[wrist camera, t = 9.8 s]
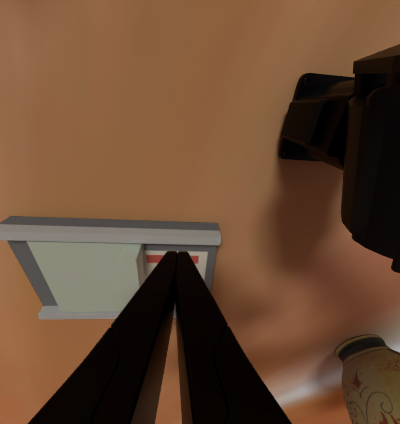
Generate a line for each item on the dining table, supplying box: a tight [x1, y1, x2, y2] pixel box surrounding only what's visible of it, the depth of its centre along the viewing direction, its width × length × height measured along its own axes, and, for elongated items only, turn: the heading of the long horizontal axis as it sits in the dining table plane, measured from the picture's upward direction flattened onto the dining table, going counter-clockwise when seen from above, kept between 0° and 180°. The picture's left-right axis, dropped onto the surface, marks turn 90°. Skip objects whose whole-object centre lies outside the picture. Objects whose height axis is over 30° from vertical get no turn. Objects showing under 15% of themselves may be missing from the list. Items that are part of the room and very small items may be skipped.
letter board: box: [0, 216, 221, 319], centre depth 23 cm, size 22×14×3 cm, turn 86°
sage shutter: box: [27, 241, 147, 312], centre depth 21 cm, size 11×11×3 cm
